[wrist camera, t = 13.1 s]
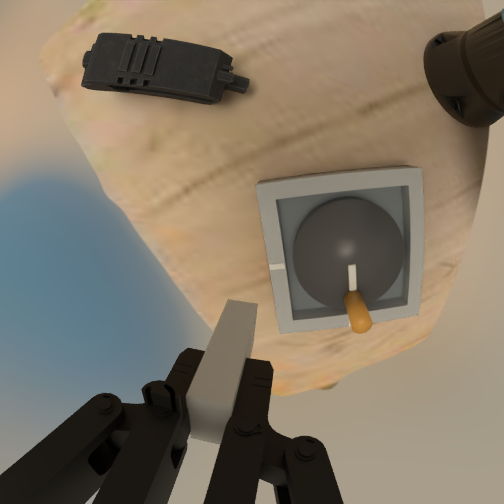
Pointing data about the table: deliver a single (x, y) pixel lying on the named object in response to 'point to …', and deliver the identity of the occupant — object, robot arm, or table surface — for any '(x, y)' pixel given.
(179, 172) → the table surface
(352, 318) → the crank dial
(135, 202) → the table surface
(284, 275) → the square crank box
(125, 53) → the tool
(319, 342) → the table surface
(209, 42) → the table surface
